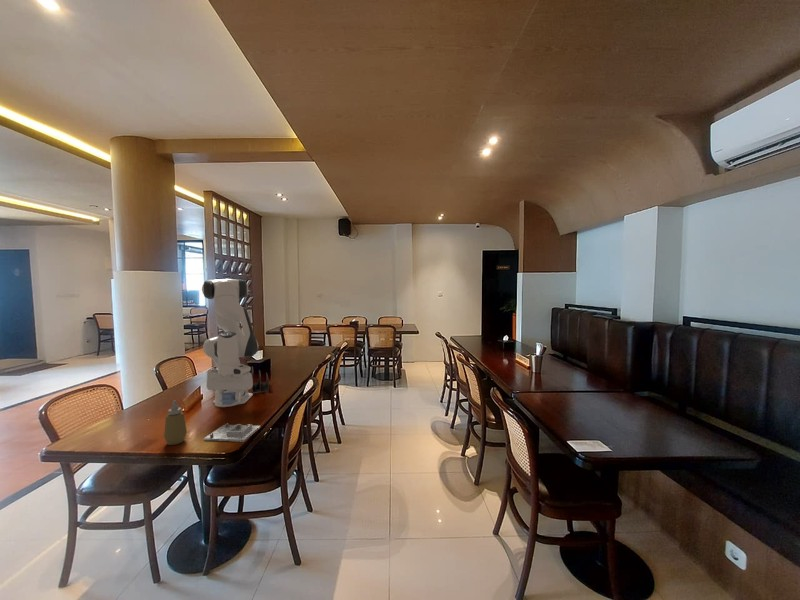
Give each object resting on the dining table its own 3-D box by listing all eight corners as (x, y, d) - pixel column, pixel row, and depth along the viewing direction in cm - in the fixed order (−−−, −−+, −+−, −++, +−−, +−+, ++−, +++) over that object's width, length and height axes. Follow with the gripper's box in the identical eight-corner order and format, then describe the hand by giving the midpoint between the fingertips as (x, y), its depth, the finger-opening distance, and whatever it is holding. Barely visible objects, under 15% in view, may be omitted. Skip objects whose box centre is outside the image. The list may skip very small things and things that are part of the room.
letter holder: (251, 394, 204) (251, 371, 203) (251, 385, 222) (251, 364, 221) (269, 392, 208) (268, 370, 207) (267, 383, 226) (267, 363, 225)
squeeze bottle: (171, 438, 145) (170, 397, 144) (191, 437, 145) (189, 397, 145) (159, 447, 137) (158, 404, 136) (180, 446, 137) (178, 403, 136)
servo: (231, 399, 152) (230, 390, 152) (239, 399, 151) (239, 390, 151) (220, 405, 144) (220, 395, 144) (229, 405, 144) (228, 395, 144)
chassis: (224, 426, 156) (223, 420, 156) (260, 427, 155) (260, 422, 155) (204, 440, 143) (203, 434, 142) (243, 441, 141) (243, 435, 141)
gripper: (202, 370, 145) (203, 401, 146) (246, 370, 143) (247, 402, 144) (212, 367, 152) (213, 396, 152) (254, 367, 149) (255, 397, 150)
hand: (230, 399), depth 148 cm, fingers closed on servo, 4 cm apart
